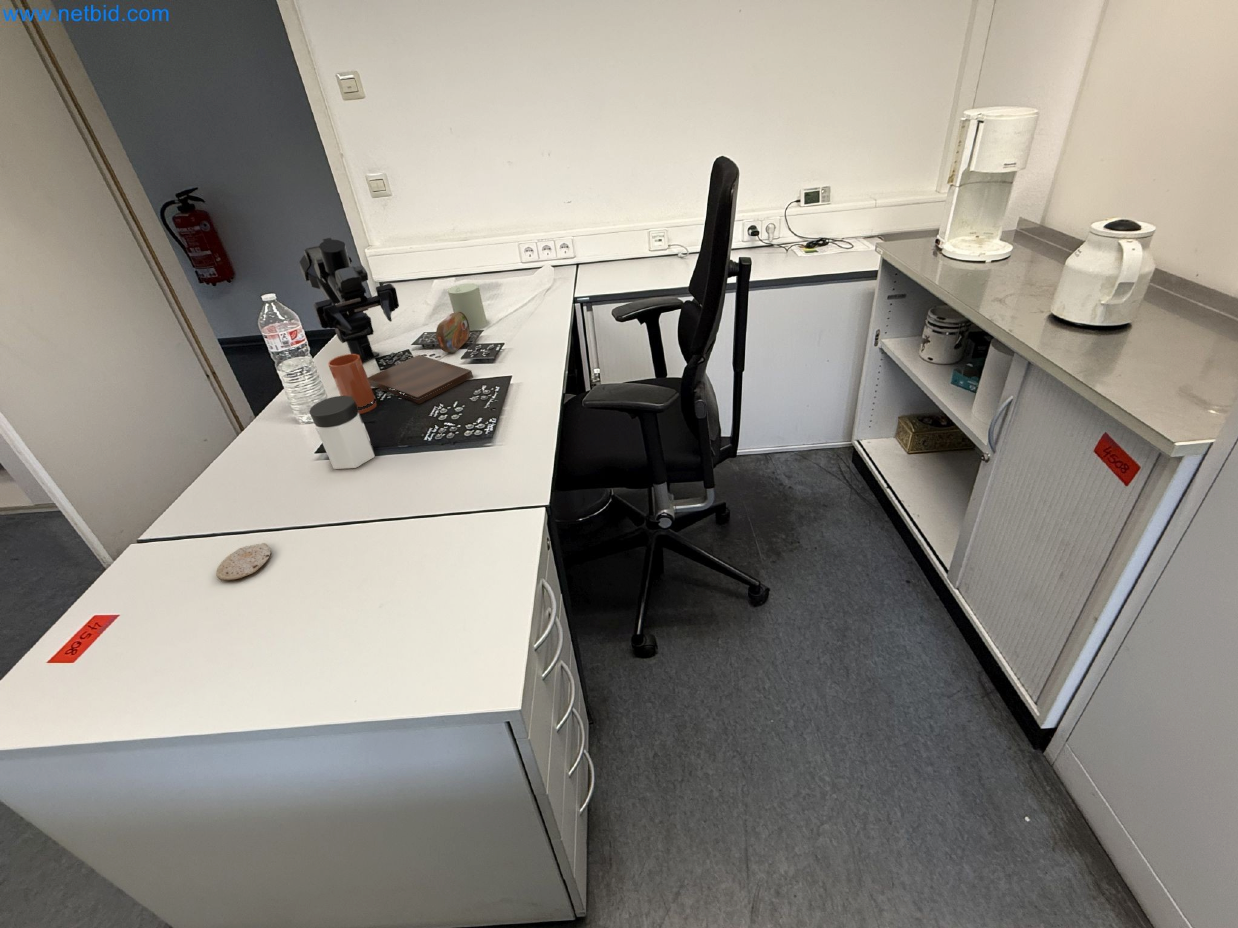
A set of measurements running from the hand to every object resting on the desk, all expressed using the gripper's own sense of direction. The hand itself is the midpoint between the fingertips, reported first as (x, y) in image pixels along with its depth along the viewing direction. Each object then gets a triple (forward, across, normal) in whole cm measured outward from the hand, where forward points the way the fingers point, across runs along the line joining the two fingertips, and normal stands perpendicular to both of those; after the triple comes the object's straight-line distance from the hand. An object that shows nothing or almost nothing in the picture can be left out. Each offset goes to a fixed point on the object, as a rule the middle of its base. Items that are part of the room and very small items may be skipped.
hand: (371, 325), depth 136 cm
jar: (+33, -17, +4) cm, 37 cm away
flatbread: (+52, -39, -4) cm, 65 cm away
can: (-17, +32, +24) cm, 44 cm away
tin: (-5, +22, +19) cm, 30 cm away
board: (+8, +6, +14) cm, 17 cm away
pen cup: (+12, -9, +12) cm, 19 cm away
